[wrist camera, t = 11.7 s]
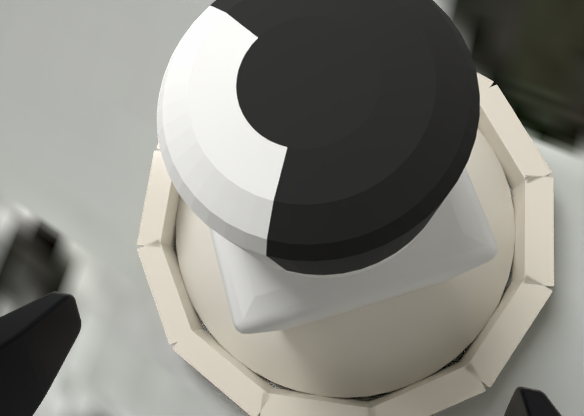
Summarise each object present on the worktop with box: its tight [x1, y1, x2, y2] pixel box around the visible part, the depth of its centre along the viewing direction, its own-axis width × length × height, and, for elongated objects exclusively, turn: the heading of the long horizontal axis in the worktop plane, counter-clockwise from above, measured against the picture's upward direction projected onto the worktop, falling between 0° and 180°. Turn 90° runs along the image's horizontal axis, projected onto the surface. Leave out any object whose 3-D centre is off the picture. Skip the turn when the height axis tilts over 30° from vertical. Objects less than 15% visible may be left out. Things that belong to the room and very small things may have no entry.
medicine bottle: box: [157, 0, 498, 334], centre depth 14 cm, size 7×7×12 cm
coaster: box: [137, 73, 554, 416], centre depth 19 cm, size 16×16×2 cm
